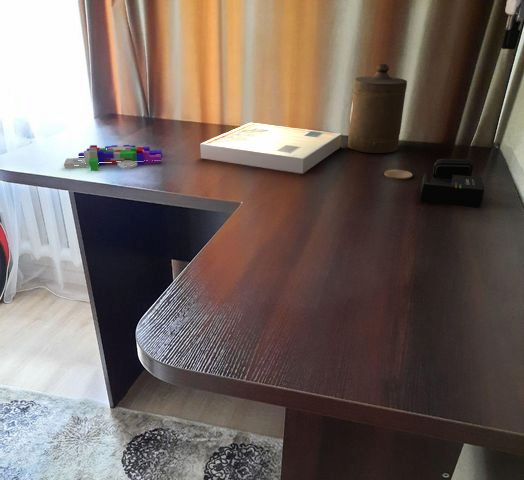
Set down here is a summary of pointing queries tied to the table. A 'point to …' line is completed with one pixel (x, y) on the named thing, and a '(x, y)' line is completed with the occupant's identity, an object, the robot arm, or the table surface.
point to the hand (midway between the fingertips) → (507, 48)
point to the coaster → (398, 174)
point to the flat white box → (272, 147)
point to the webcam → (450, 169)
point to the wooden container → (377, 112)
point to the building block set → (114, 157)
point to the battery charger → (453, 191)
